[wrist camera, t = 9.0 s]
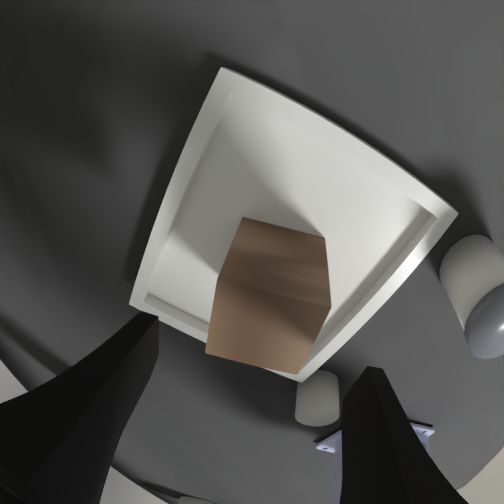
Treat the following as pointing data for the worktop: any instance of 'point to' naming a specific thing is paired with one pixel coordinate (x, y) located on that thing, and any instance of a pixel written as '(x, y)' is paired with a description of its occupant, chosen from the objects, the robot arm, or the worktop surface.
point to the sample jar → (477, 292)
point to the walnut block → (270, 297)
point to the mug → (192, 500)
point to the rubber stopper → (318, 399)
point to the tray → (284, 210)
